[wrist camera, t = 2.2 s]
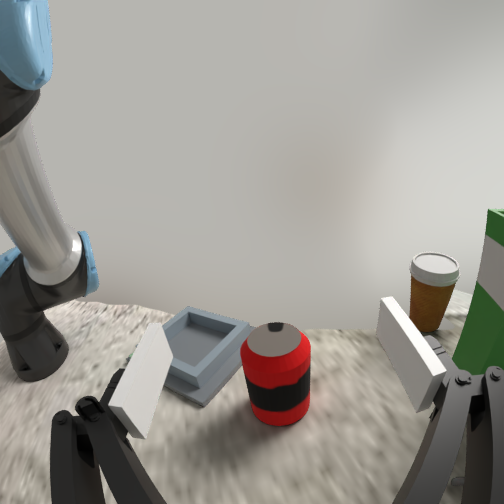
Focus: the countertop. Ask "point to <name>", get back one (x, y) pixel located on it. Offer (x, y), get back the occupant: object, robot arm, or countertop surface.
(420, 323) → the disposable coffee cup
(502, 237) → the cereal box
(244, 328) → the dock
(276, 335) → the soda can
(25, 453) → the countertop surface
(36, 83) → the robot arm
